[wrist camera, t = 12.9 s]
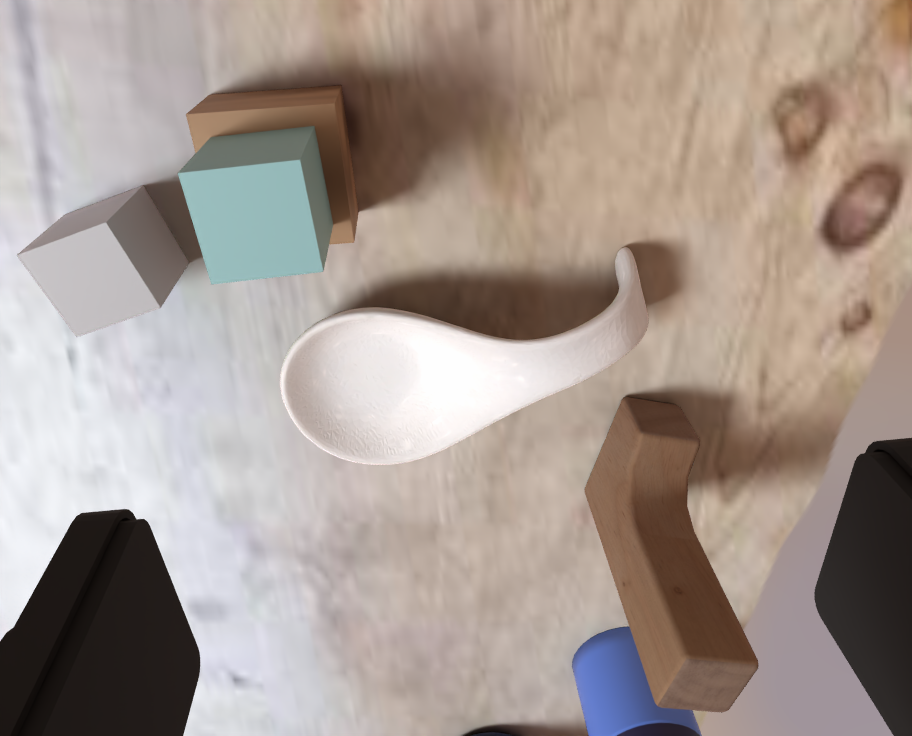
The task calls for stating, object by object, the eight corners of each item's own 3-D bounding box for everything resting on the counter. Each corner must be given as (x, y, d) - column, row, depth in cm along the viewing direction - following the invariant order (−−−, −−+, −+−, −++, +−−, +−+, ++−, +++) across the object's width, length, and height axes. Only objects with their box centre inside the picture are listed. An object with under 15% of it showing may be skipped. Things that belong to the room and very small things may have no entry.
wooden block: (621, 393, 49) (721, 600, 34) (680, 403, 50) (804, 609, 35) (581, 489, 54) (654, 710, 38) (636, 497, 55) (728, 716, 39)
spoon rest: (335, 454, 51) (326, 525, 45) (254, 321, 45) (231, 382, 39) (653, 343, 48) (690, 403, 42) (612, 185, 42) (648, 228, 36)
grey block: (65, 214, 40) (16, 255, 35) (143, 184, 39) (105, 222, 34) (115, 288, 43) (76, 337, 38) (189, 262, 42) (160, 307, 37)
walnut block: (210, 94, 37) (185, 114, 33) (341, 84, 38) (334, 103, 33) (239, 220, 41) (220, 252, 37) (358, 210, 41) (354, 242, 37)
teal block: (210, 137, 34) (177, 173, 29) (314, 125, 34) (300, 159, 29) (237, 235, 36) (211, 284, 31) (333, 224, 36) (323, 271, 31)
